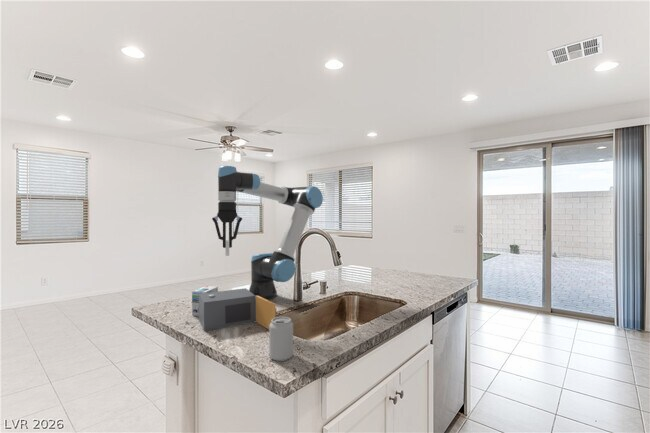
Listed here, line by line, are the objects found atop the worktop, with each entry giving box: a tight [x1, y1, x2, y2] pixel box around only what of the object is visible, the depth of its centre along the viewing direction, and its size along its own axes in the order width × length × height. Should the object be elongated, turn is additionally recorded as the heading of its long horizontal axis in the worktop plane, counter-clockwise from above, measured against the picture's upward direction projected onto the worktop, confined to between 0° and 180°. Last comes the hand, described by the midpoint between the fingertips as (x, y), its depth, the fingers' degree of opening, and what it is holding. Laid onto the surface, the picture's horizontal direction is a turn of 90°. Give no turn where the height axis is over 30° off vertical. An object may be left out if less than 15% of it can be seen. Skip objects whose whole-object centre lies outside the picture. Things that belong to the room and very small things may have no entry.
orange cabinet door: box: [255, 295, 277, 330], centre depth 125 cm, size 15×2×10 cm, turn 39°
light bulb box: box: [191, 285, 219, 317], centre depth 142 cm, size 11×7×11 cm, turn 168°
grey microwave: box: [198, 288, 256, 332], centre depth 132 cm, size 21×14×12 cm
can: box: [268, 316, 294, 362], centre depth 100 cm, size 8×8×12 cm
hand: (227, 255), depth 139 cm, fingers closed
